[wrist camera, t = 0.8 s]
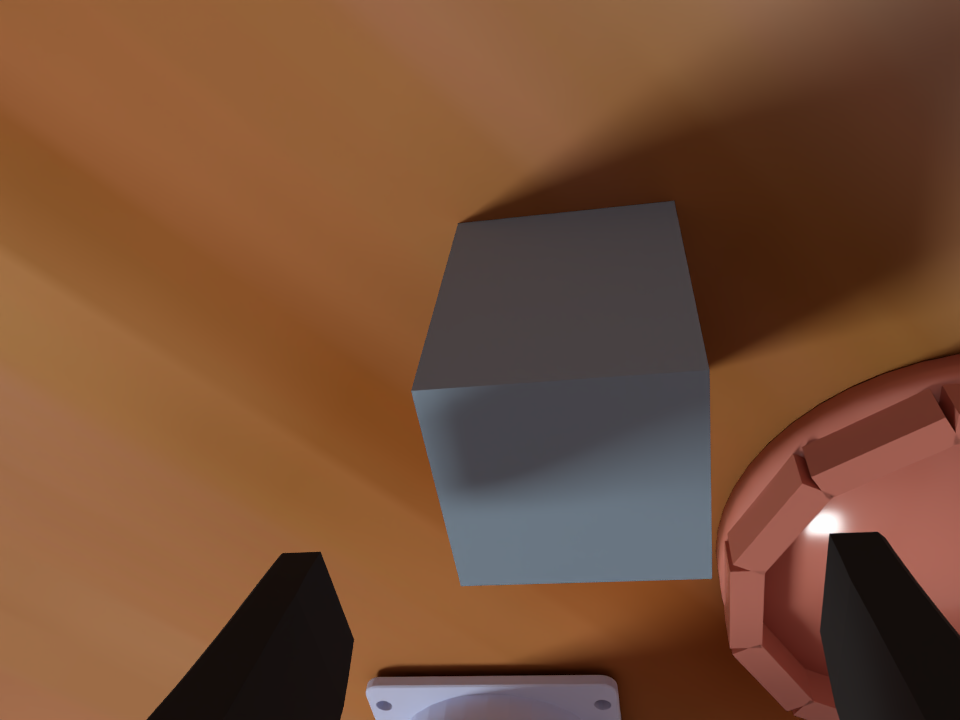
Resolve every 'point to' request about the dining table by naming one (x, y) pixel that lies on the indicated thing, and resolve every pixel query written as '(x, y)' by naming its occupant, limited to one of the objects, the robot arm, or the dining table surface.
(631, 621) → the dining table surface
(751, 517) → the terracotta dish
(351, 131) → the dining table surface
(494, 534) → the slate block
